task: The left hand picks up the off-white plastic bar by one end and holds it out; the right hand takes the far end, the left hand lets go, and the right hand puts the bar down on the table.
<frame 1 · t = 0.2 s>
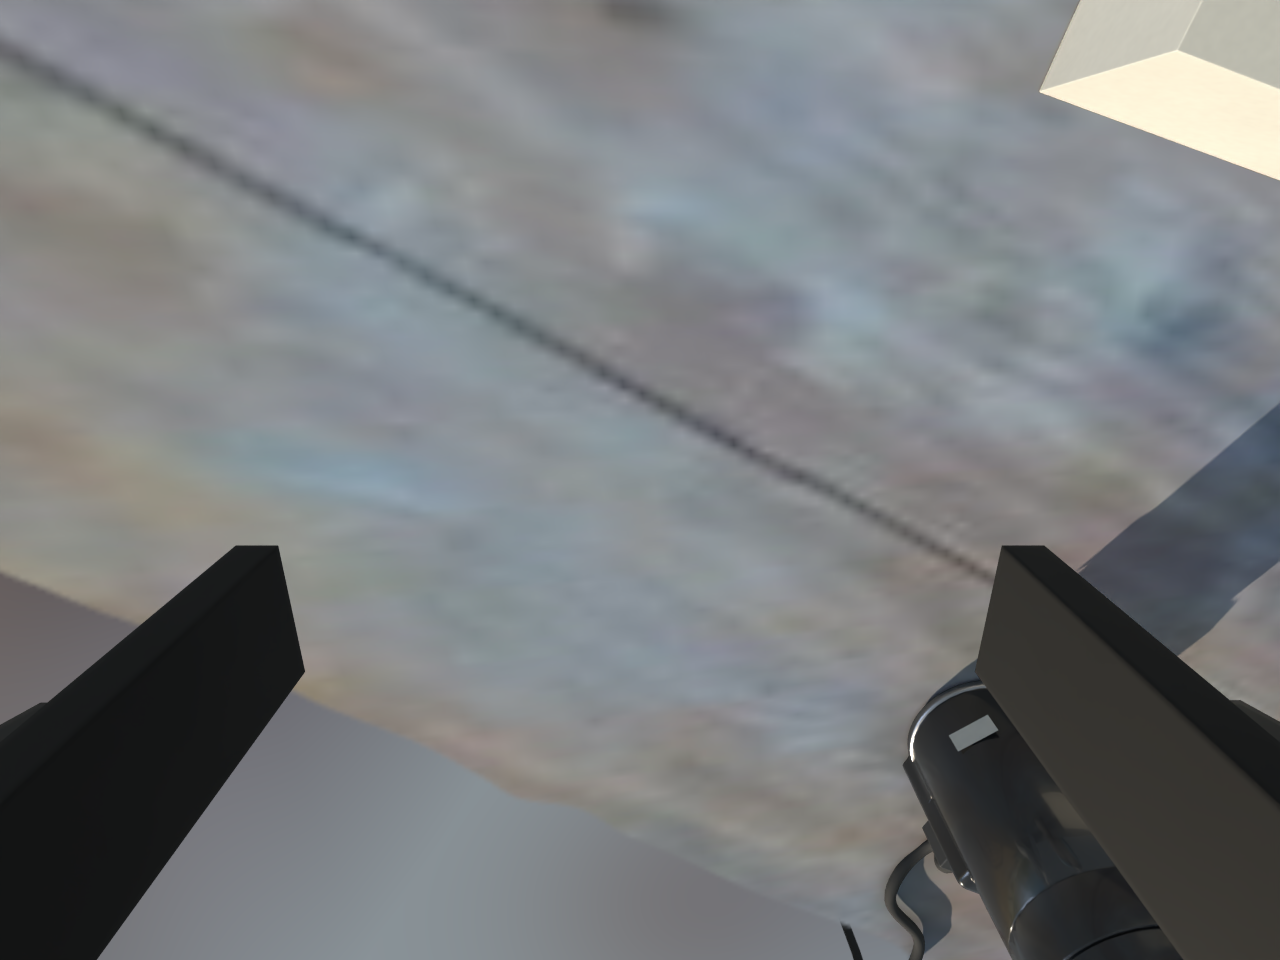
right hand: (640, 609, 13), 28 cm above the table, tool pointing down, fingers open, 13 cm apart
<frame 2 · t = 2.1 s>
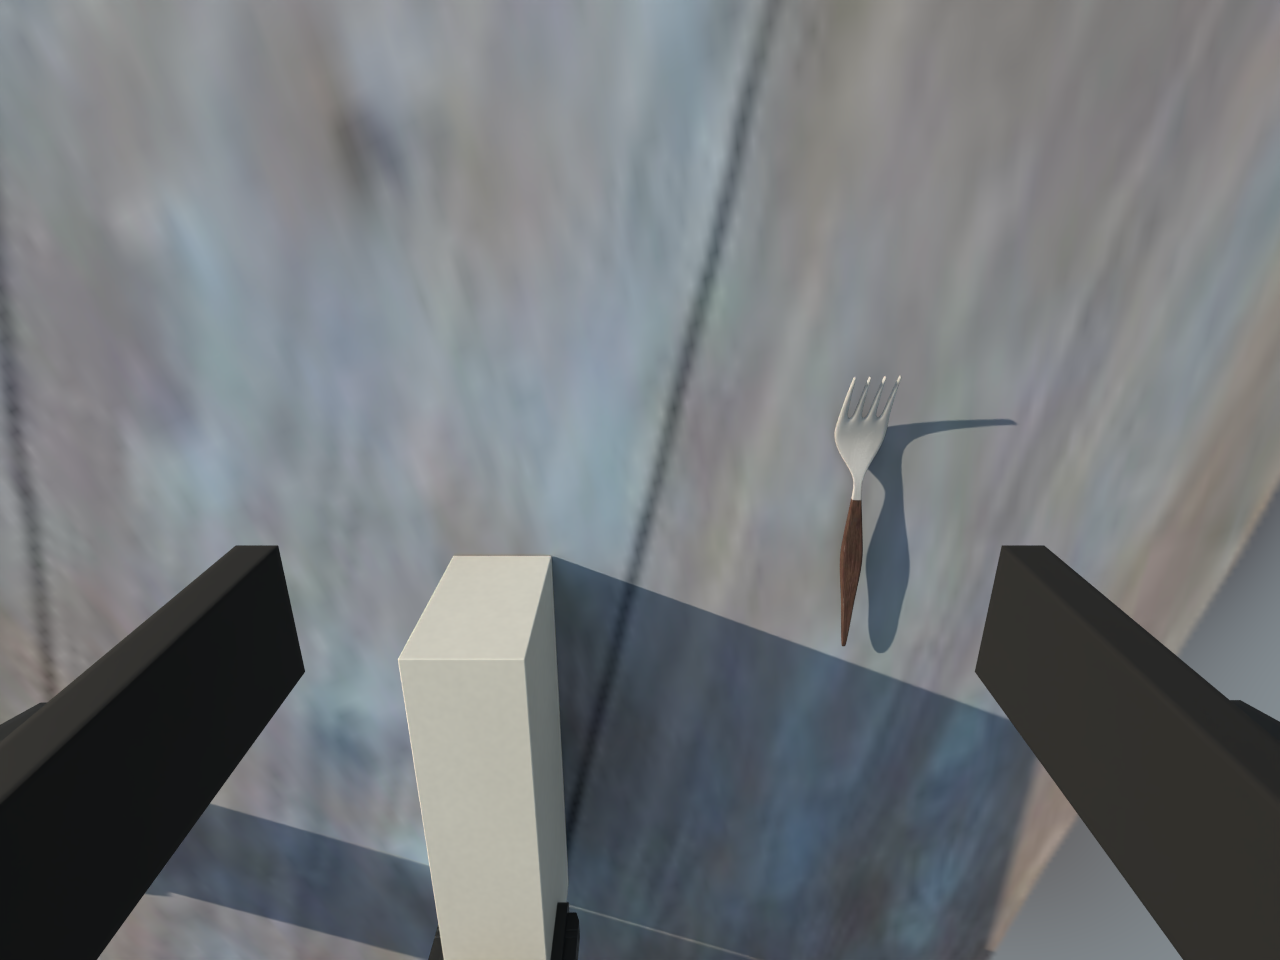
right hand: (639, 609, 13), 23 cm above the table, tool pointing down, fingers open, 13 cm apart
fork: (850, 513, 37), on the table
bar: (517, 736, 43), on the table, touching left hand
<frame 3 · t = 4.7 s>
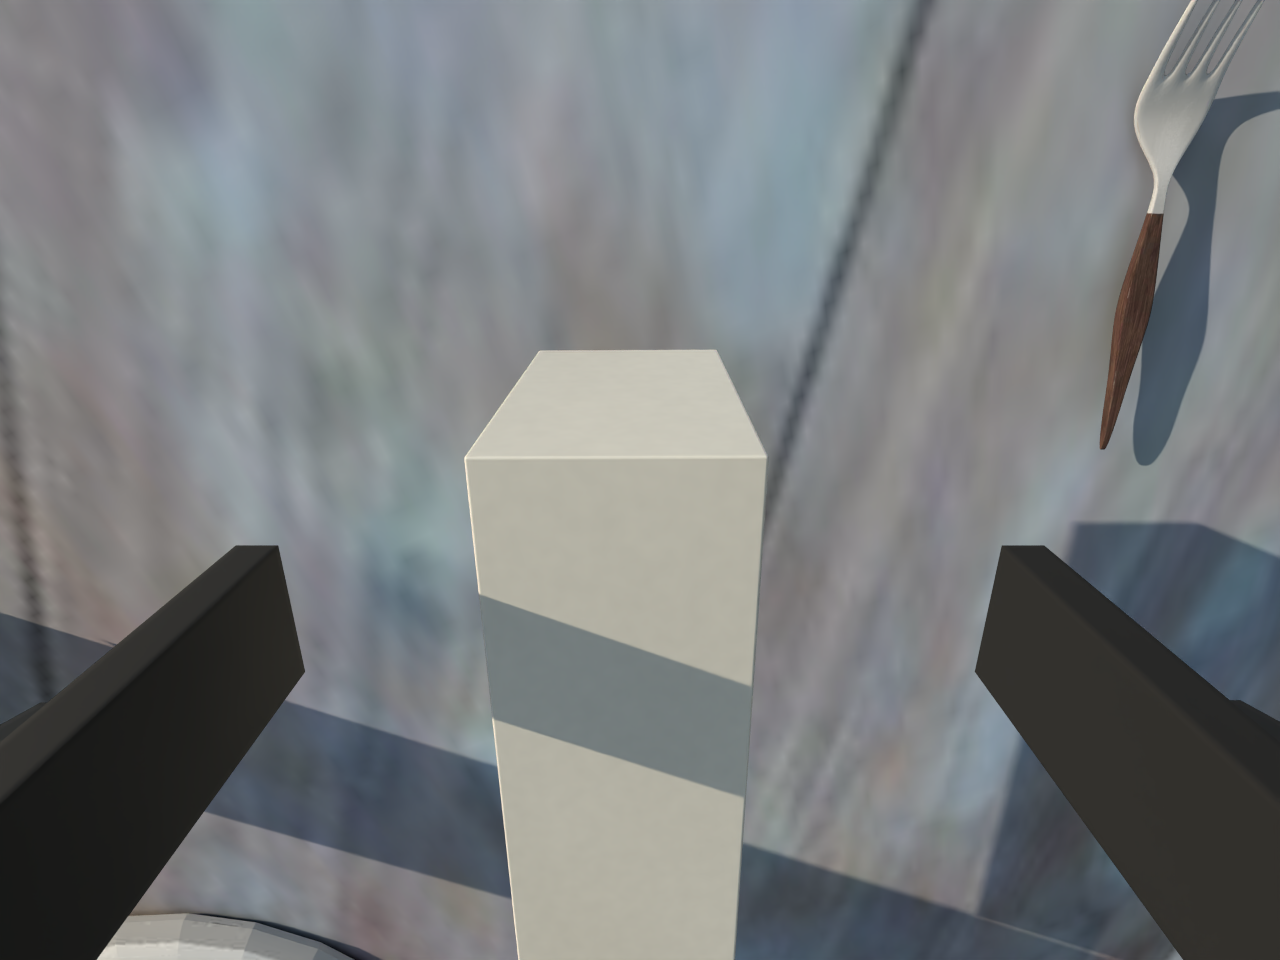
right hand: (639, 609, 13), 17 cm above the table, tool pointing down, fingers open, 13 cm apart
fork: (1135, 245, 26), on the table
bar: (632, 687, 26), point 7 cm above the table, touching left hand
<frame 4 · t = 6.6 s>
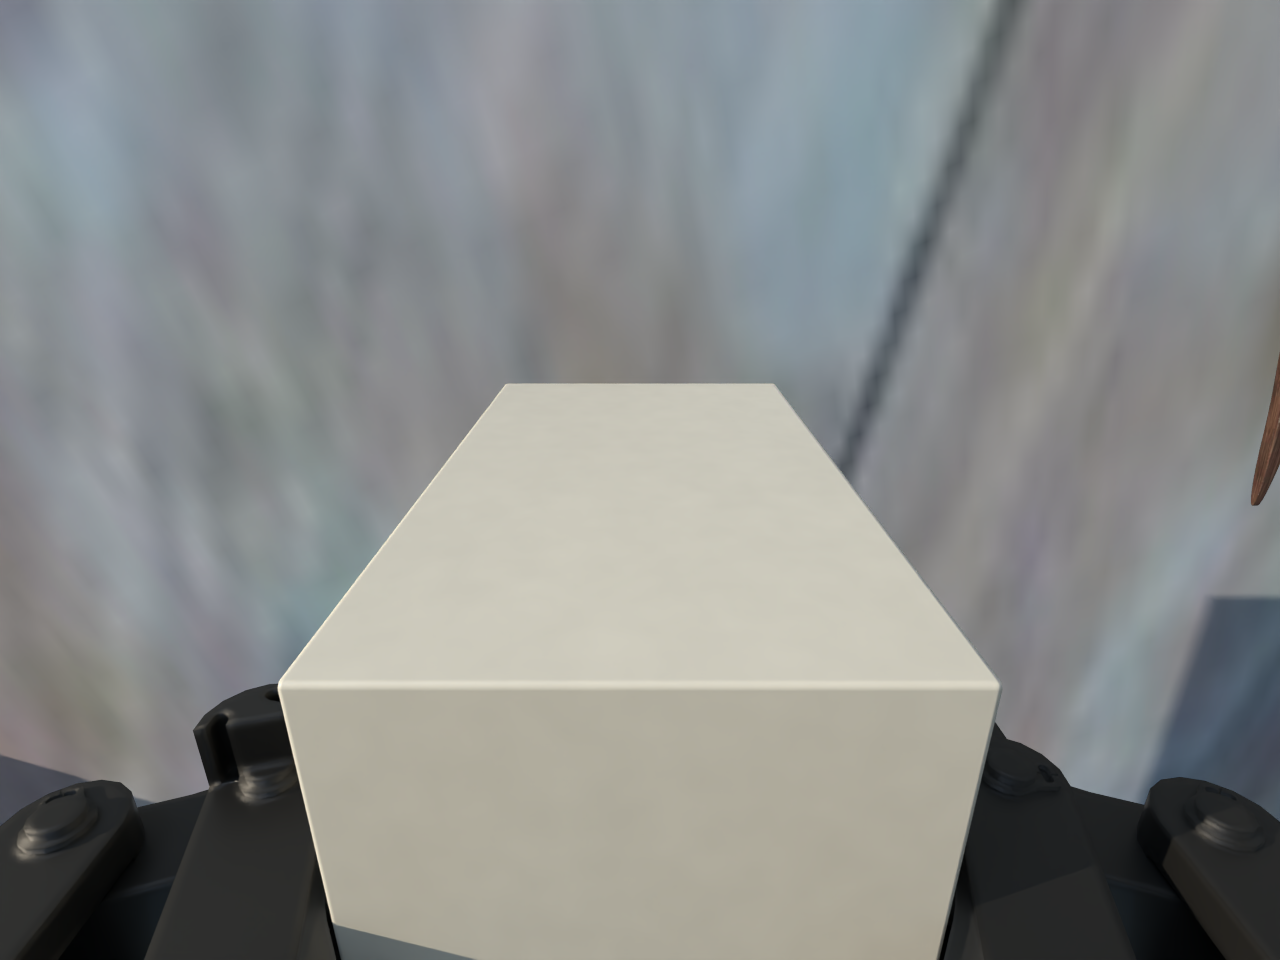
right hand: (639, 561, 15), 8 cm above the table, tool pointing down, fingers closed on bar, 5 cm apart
bar: (640, 845, 18), point 7 cm above the table, touching right hand, left hand
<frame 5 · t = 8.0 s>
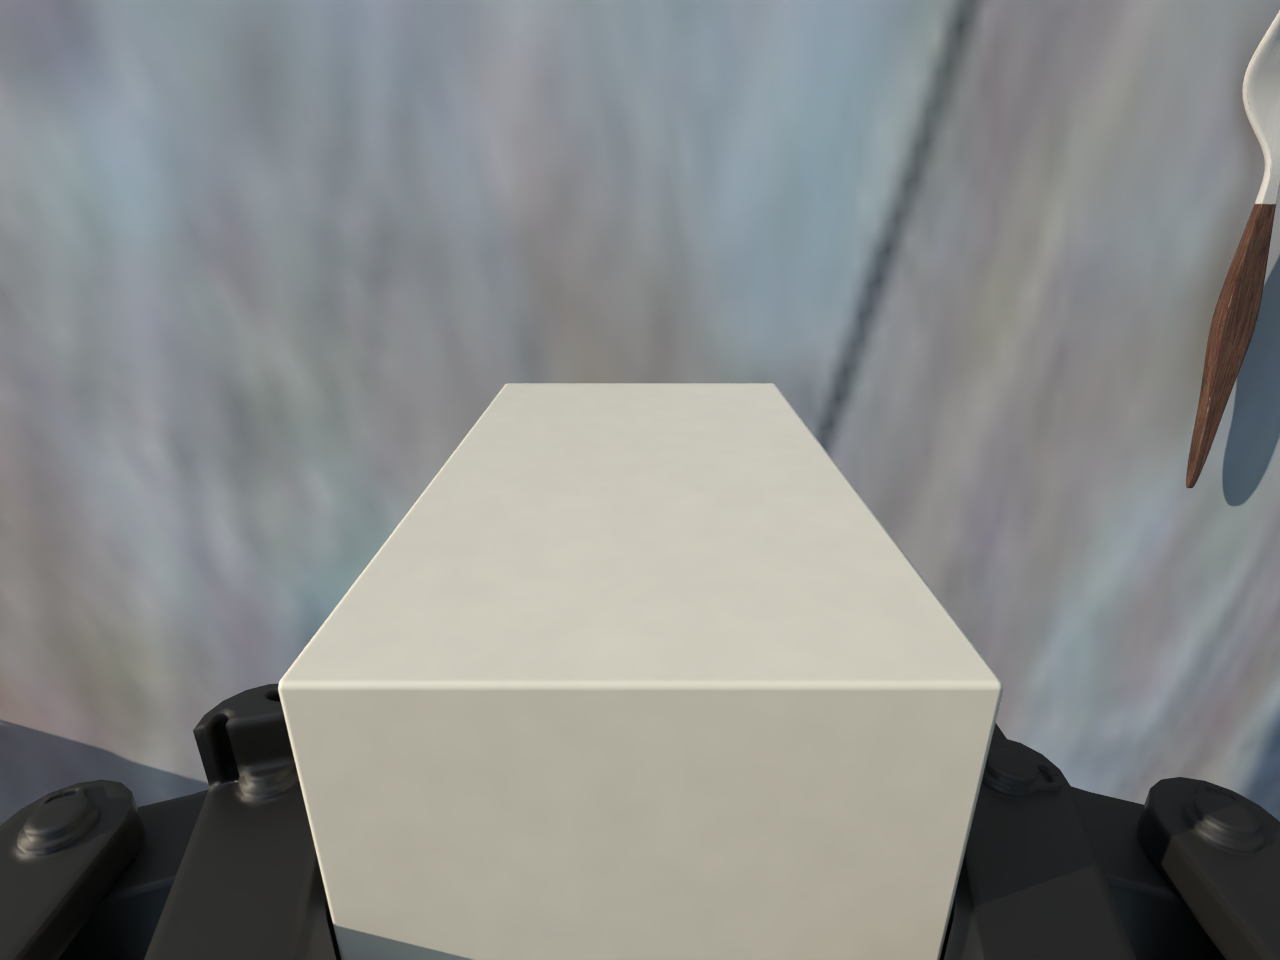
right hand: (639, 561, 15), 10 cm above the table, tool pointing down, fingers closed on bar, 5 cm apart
fork: (1236, 243, 22), on the table
bar: (640, 845, 18), point 9 cm above the table, touching right hand
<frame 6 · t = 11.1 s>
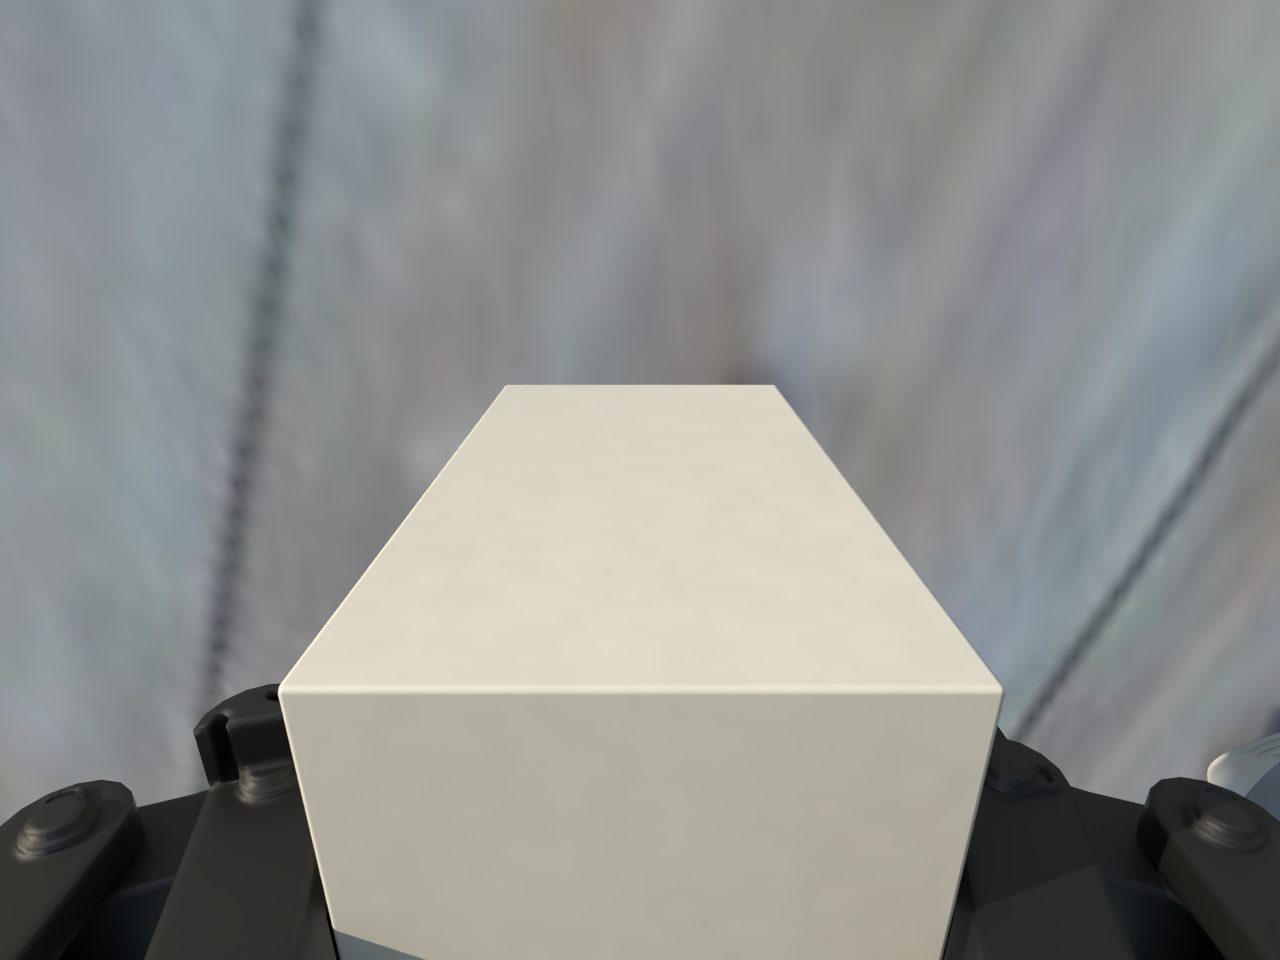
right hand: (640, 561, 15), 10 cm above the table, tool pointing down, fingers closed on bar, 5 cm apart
fork: (1193, 839, 32), on the table
bar: (640, 846, 18), point 10 cm above the table, touching right hand
when the right hand's fingers open (2 cm above the table, at t = 16.1 s): bar drops 1 cm, on the table.
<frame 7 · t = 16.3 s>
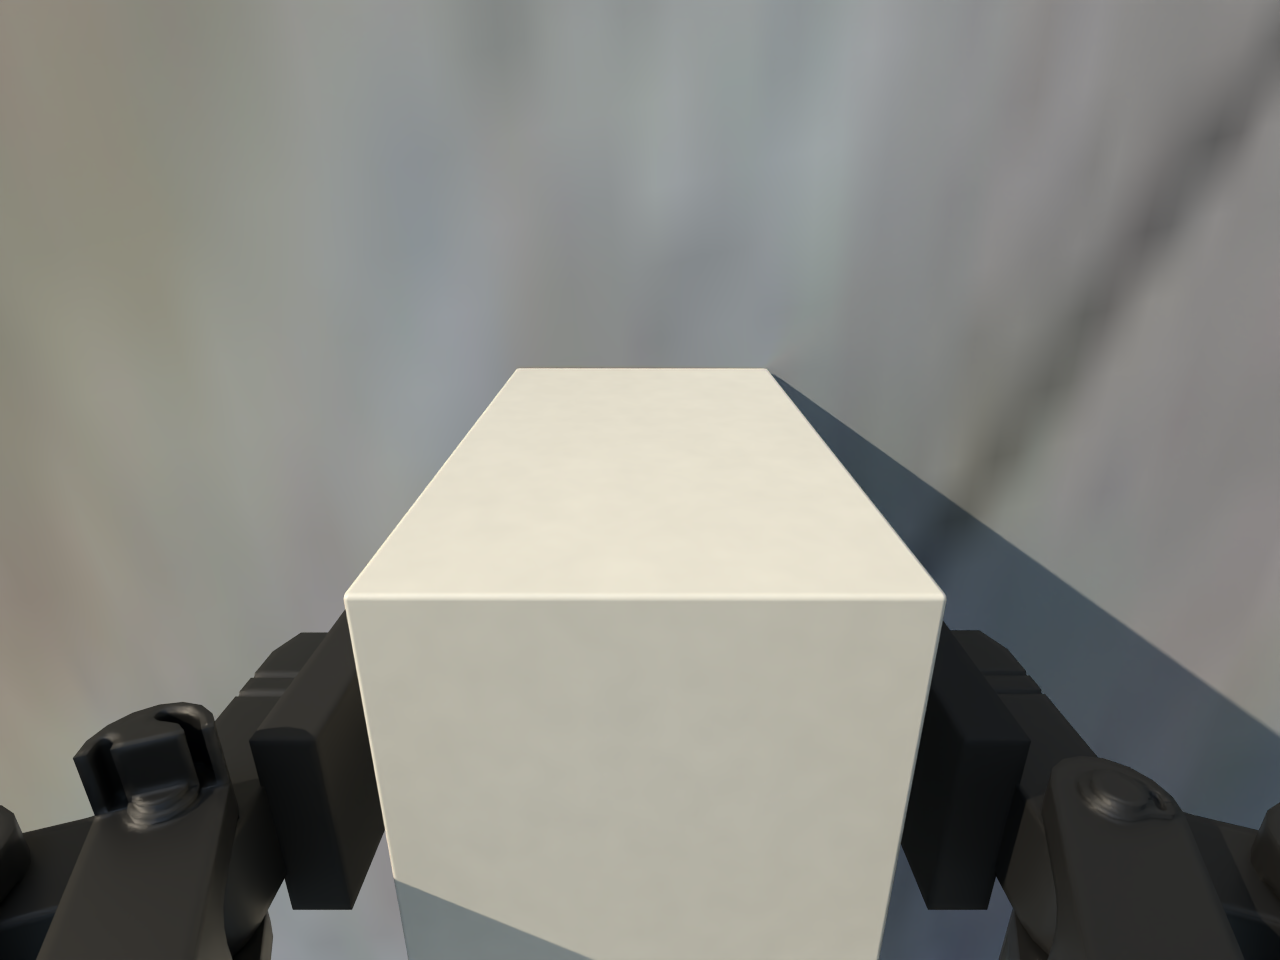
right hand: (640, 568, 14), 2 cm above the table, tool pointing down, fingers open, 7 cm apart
bar: (641, 809, 20), on the table
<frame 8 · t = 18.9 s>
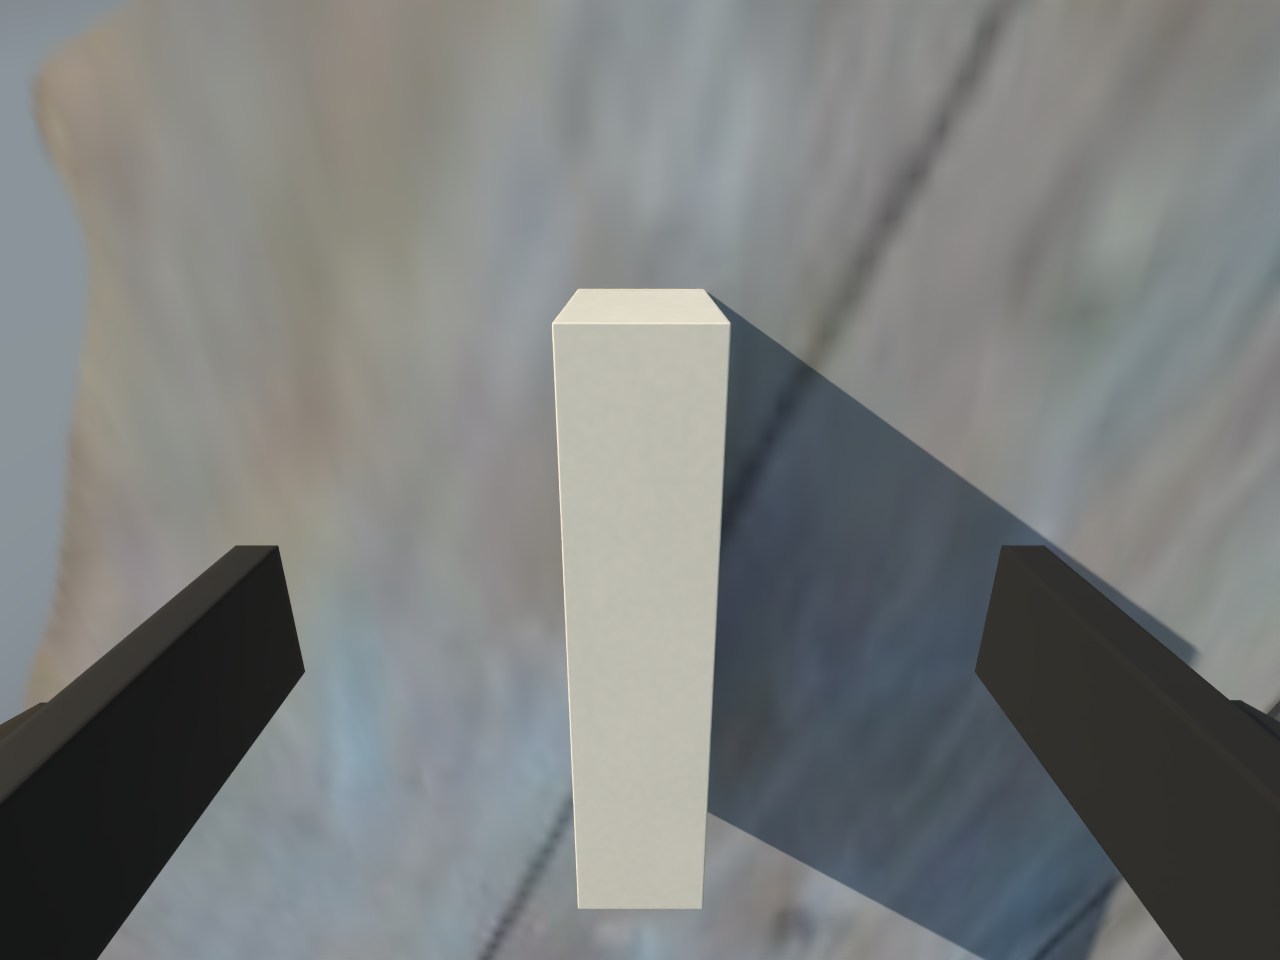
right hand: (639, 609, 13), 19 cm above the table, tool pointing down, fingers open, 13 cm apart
bar: (640, 551, 34), on the table
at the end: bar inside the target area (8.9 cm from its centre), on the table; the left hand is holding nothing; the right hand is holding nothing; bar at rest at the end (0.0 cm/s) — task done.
